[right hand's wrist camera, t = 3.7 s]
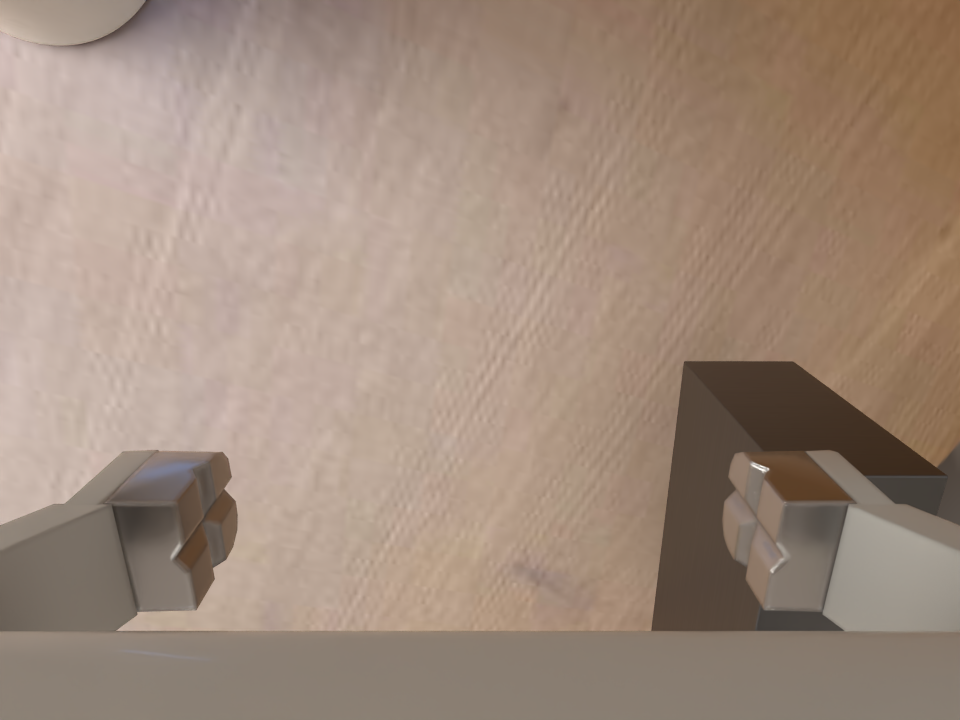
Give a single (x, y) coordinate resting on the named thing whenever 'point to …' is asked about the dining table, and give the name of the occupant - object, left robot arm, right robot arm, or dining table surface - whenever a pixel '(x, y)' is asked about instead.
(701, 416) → the box
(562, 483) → the dining table surface
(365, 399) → the dining table surface
